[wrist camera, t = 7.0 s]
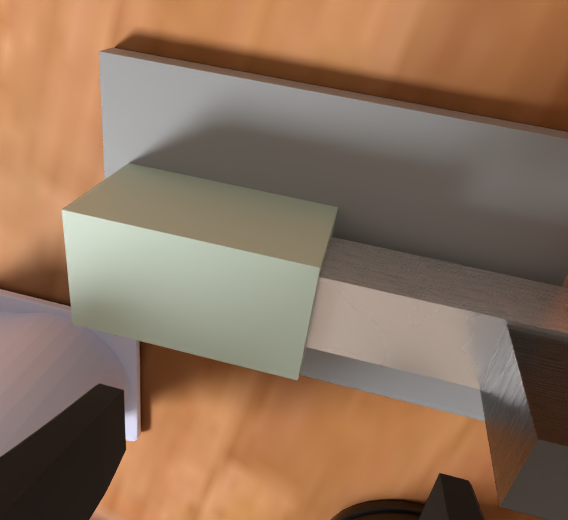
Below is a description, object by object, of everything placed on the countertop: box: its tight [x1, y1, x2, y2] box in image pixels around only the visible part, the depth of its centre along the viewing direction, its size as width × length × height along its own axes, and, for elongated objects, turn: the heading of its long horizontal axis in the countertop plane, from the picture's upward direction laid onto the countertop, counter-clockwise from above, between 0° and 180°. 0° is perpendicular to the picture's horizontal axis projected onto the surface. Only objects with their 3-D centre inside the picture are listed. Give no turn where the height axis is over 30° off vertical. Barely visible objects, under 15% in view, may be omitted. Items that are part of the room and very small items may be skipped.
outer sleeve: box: [62, 163, 338, 381], centre depth 18 cm, size 8×4×4 cm, turn 82°
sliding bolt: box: [305, 237, 568, 520], centre depth 16 cm, size 14×3×7 cm, turn 83°
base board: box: [99, 48, 568, 421], centre depth 20 cm, size 22×12×1 cm, turn 83°
